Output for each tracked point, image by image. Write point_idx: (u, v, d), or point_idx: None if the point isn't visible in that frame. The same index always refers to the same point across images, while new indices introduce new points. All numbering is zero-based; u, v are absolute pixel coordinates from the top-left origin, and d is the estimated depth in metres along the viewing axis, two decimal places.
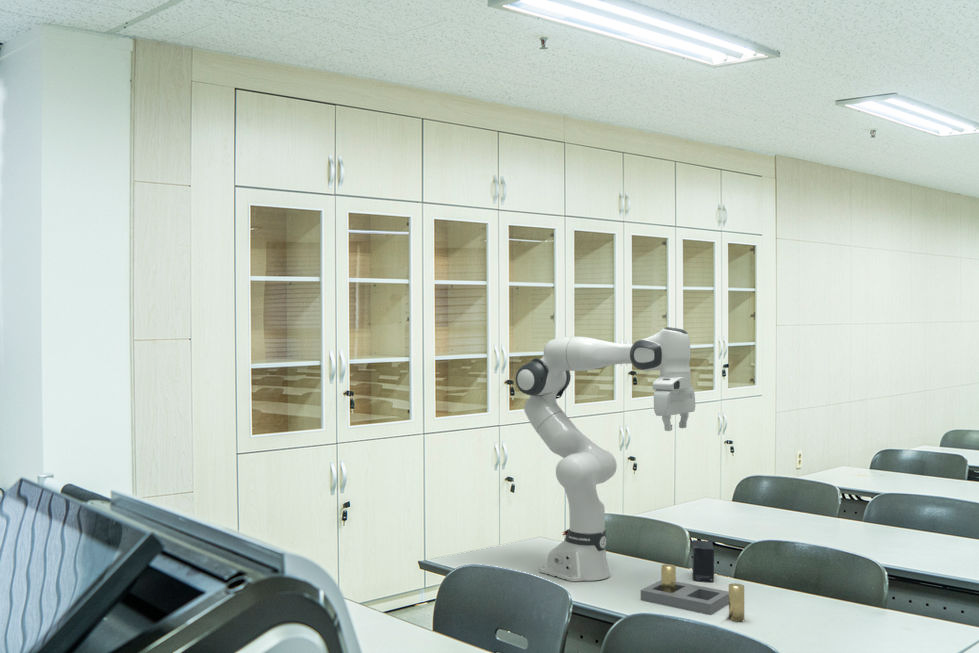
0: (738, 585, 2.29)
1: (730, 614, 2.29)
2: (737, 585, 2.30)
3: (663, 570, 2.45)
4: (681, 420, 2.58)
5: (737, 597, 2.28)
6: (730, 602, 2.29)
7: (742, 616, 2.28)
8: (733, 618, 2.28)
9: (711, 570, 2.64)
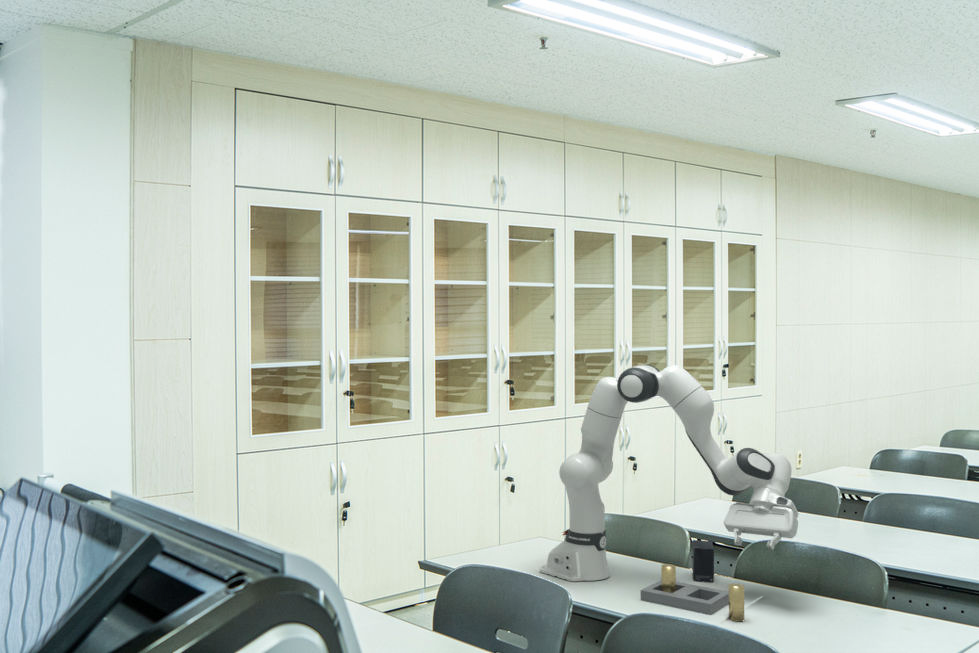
0: (737, 585, 2.29)
1: (730, 614, 2.29)
2: (737, 585, 2.30)
3: (663, 570, 2.45)
4: (737, 536, 2.43)
5: (737, 597, 2.28)
6: (730, 602, 2.29)
7: (742, 616, 2.28)
8: (733, 618, 2.28)
9: (711, 570, 2.64)
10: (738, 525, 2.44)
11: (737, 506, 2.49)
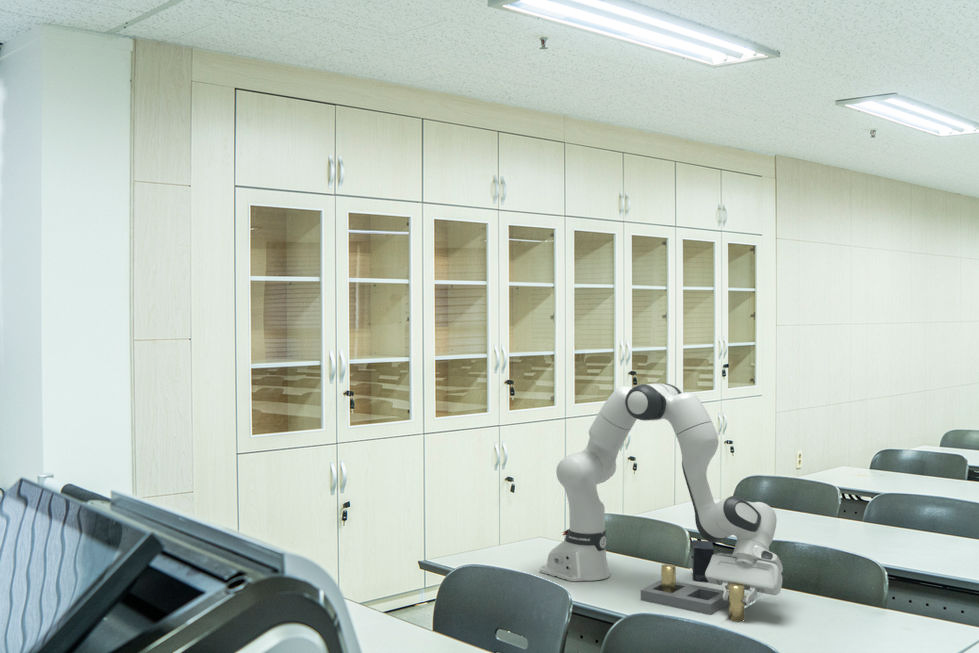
0: (737, 585, 2.29)
1: (730, 614, 2.29)
2: (737, 585, 2.30)
3: (663, 570, 2.45)
4: (726, 591, 2.32)
5: (737, 597, 2.28)
6: (730, 602, 2.29)
7: (742, 616, 2.28)
8: (733, 618, 2.28)
9: None
10: (720, 578, 2.34)
11: (719, 557, 2.39)
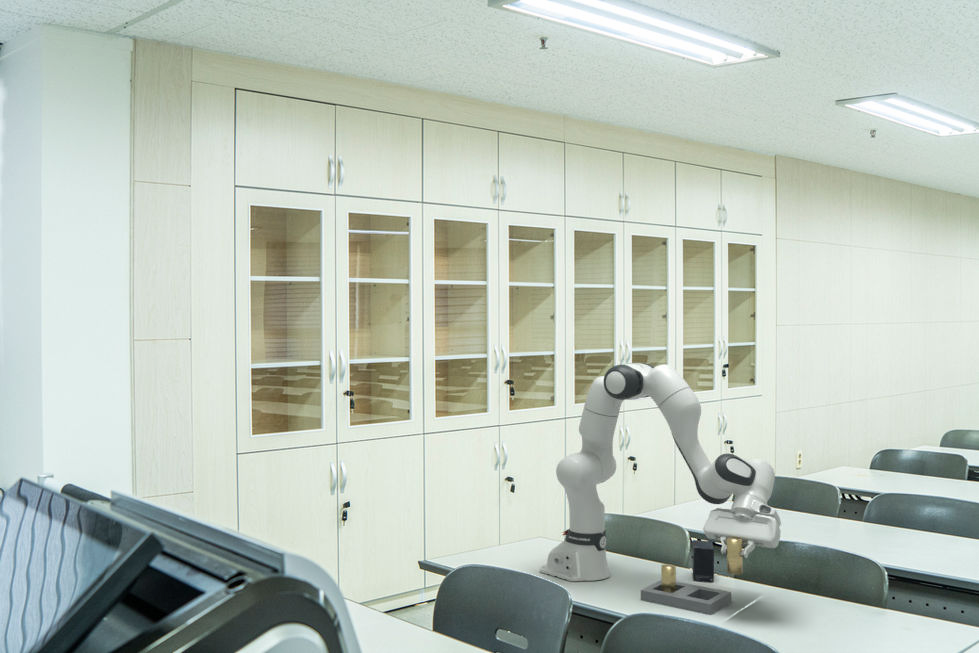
0: (736, 539, 2.30)
1: (728, 567, 2.29)
2: (735, 538, 2.30)
3: (663, 570, 2.45)
4: (724, 544, 2.32)
5: (735, 550, 2.28)
6: (728, 555, 2.29)
7: (740, 569, 2.28)
8: (732, 571, 2.28)
9: (711, 570, 2.64)
10: (718, 532, 2.35)
11: (718, 512, 2.39)
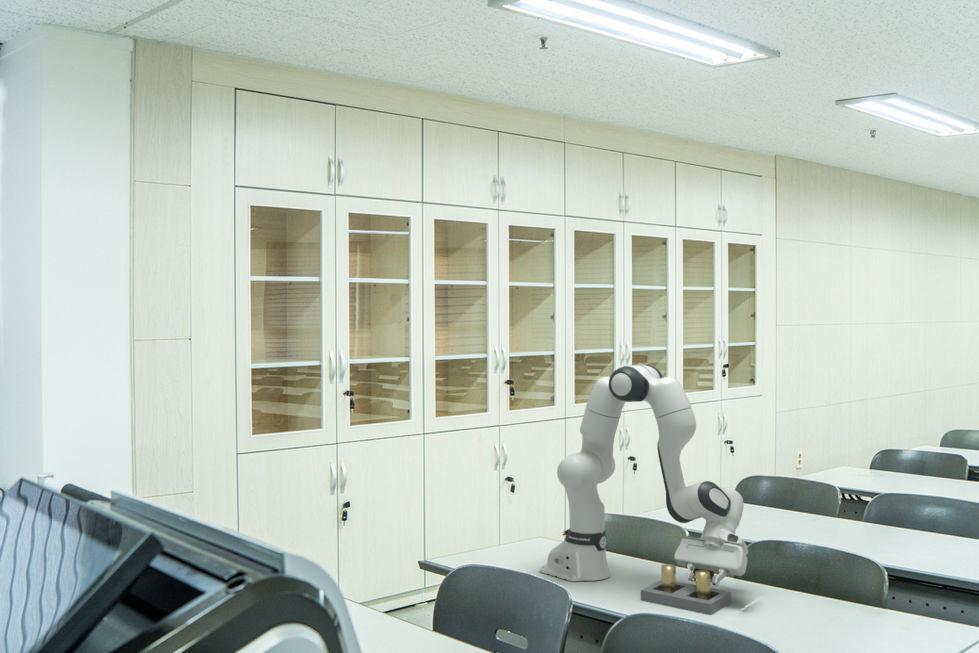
0: (704, 571, 2.40)
1: None
2: (703, 571, 2.40)
3: (663, 570, 2.45)
4: (691, 571, 2.42)
5: (703, 583, 2.38)
6: (697, 588, 2.39)
7: None
8: None
9: None
10: (688, 560, 2.44)
11: (688, 540, 2.49)
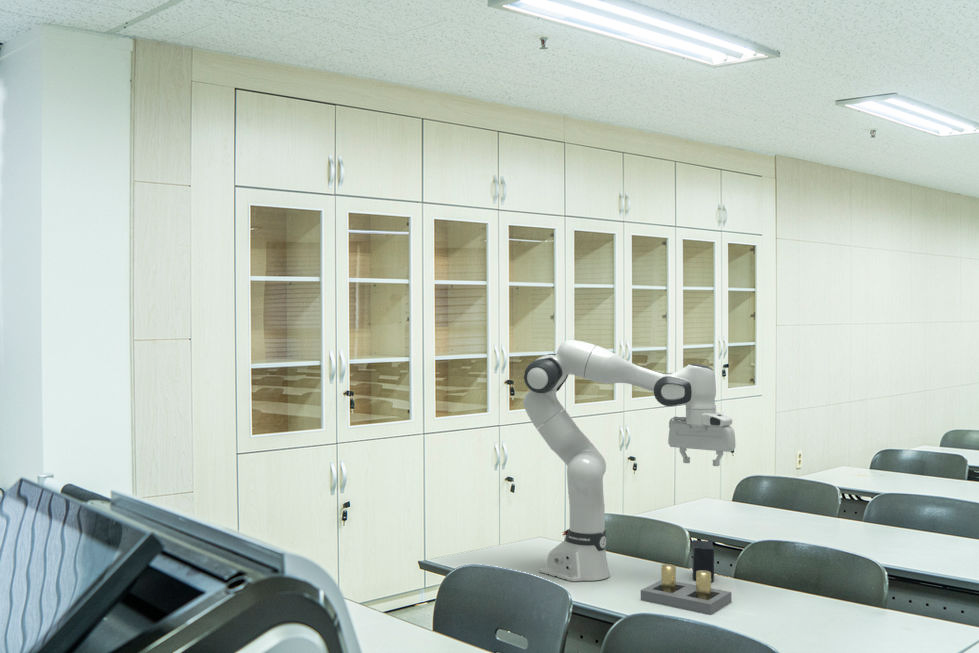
0: (705, 572, 2.39)
1: None
2: (704, 572, 2.40)
3: (663, 570, 2.45)
4: (684, 455, 2.60)
5: (704, 583, 2.38)
6: (697, 588, 2.39)
7: None
8: None
9: (711, 570, 2.64)
10: (682, 446, 2.59)
11: (675, 425, 2.61)
